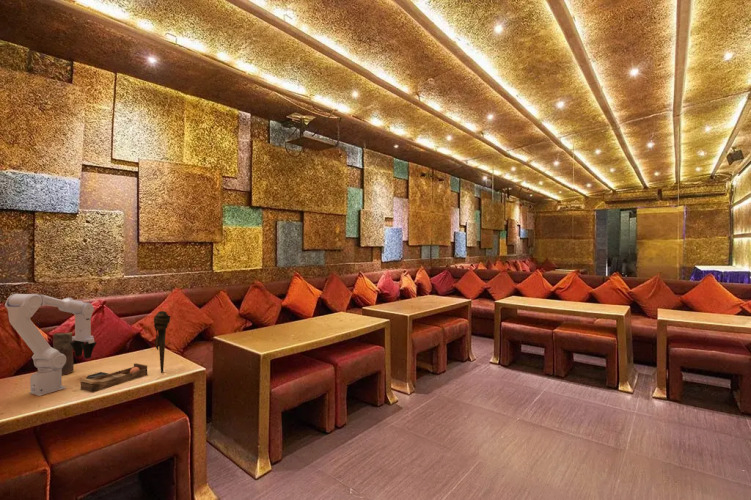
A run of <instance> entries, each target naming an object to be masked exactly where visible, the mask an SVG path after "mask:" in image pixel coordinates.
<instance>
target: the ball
mask: <svg viewBox="0 0 751 500" xmlns="http://www.w3.org/2000/svg"><path fill="white" fill-rule="evenodd" d="M132 367H133V368H132V369H131V370H130V373H133V372H137V371H140V369H139V368H138V367H134V366H132Z"/></svg>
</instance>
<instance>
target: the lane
mask: <svg viewBox="0 0 751 500" xmlns="http://www.w3.org/2000/svg"><path fill="white" fill-rule="evenodd" d="M133 367H138V368H139V369H140V371H137V372H133V373H130V370H131V369H132V368H133ZM145 376H148V365H146V364H141V363H135V362H134V363H133V366H132V367H129V368H124V369H121V370H118V371H115V372H112V373H108V374H107V375H103V376H100V377H96V378H93V379H87V378H80V379H79V382H80V390H83V391H85V392H91V393H96V392H99V391H101V390H105V389H107V388H111V387H114V386H116V385H121V384H123V383H126V382H129V381H133V380H136V379H138V378H142V377H145Z"/></svg>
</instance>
